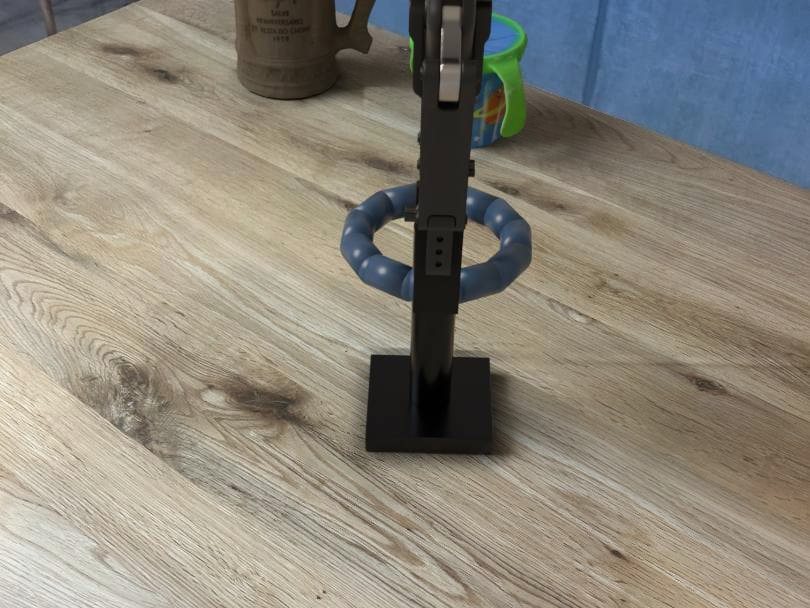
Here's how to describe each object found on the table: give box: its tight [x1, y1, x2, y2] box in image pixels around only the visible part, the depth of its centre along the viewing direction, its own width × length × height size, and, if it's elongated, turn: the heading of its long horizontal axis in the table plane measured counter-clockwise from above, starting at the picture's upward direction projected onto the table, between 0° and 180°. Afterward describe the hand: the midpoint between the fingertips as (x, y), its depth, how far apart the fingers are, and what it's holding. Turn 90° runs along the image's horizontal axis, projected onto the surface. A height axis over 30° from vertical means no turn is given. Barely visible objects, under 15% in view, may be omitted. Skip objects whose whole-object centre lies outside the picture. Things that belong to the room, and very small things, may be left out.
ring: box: [339, 181, 533, 305], centre depth 67 cm, size 12×12×2 cm
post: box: [364, 222, 495, 455], centre depth 72 cm, size 9×9×16 cm
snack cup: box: [409, 12, 529, 149], centre depth 100 cm, size 16×10×10 cm
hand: (435, 294), depth 64 cm, fingers closed on ring, 2 cm apart
